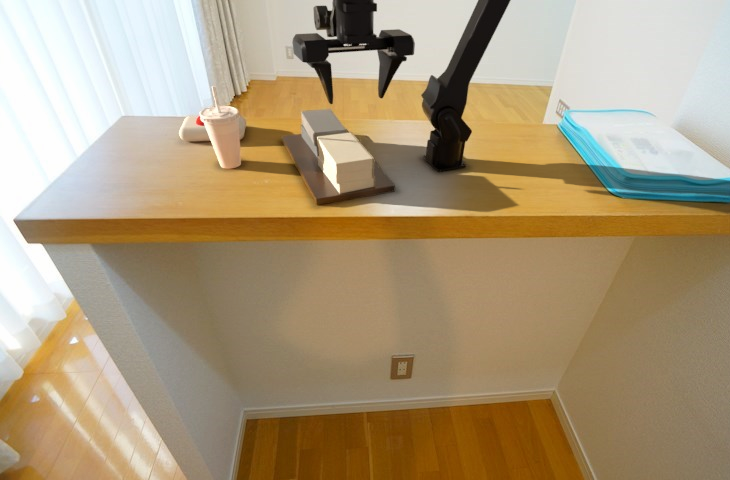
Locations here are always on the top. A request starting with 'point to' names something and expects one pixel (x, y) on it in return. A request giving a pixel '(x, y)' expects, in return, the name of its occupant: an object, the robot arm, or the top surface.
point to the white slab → (202, 129)
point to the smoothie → (223, 132)
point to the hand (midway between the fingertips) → (356, 100)
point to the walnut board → (319, 181)
